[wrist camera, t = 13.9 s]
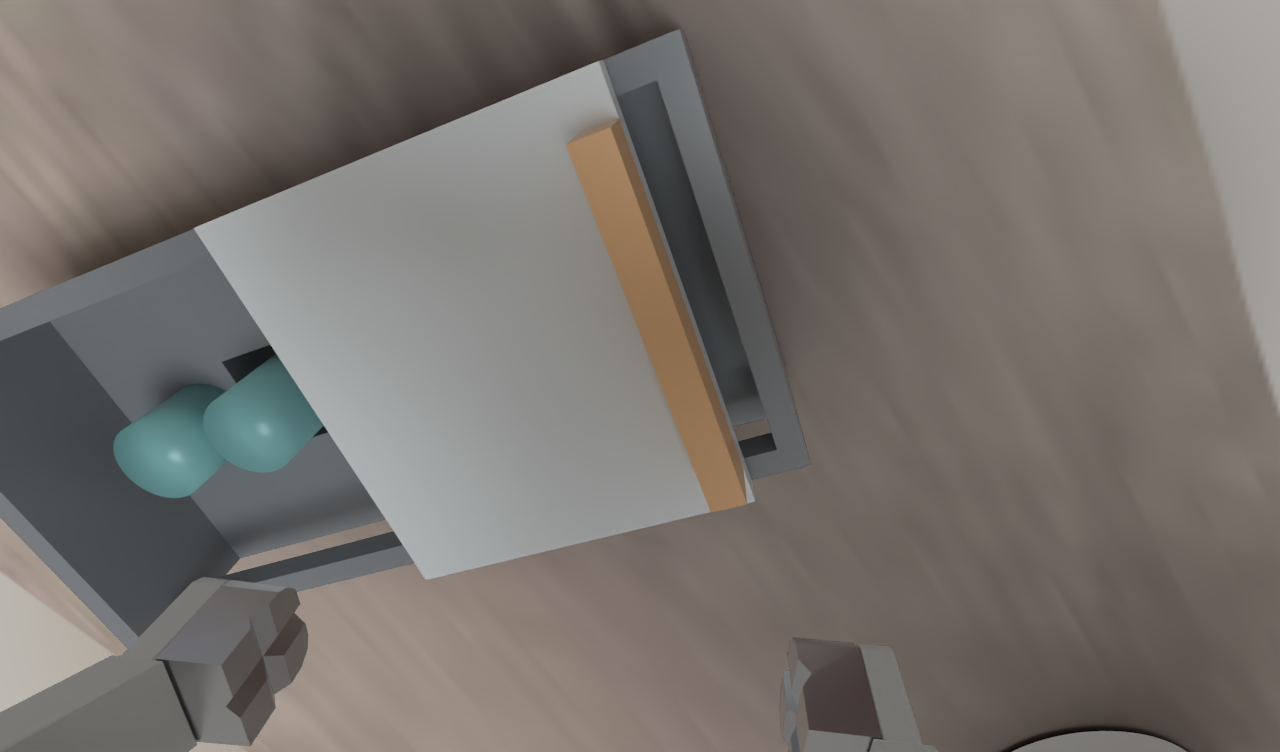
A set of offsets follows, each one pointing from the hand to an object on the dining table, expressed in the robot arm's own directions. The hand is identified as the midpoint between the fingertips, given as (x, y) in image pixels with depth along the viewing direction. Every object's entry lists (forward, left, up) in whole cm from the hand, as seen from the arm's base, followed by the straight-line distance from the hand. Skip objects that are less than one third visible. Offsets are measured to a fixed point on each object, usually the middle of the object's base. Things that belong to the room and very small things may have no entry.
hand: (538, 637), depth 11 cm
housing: (0, +10, -20) cm, 22 cm away
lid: (0, +4, -13) cm, 13 cm away
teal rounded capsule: (0, +16, -20) cm, 25 cm away
